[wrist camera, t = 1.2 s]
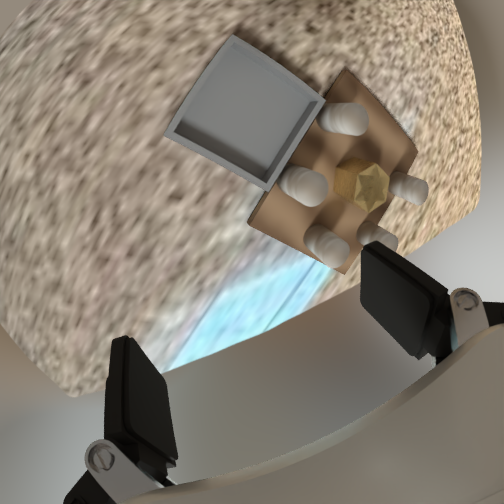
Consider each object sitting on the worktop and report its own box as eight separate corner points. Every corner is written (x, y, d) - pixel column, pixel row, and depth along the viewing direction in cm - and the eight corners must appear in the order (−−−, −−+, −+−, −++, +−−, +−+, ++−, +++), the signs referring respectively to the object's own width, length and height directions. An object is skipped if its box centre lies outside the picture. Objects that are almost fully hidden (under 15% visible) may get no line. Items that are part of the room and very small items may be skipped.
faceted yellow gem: (324, 184, 36) (345, 194, 32) (345, 150, 35) (368, 155, 30) (354, 207, 39) (375, 218, 35) (373, 175, 38) (395, 184, 34)
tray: (226, 41, 25) (232, 34, 22) (314, 101, 31) (326, 100, 29) (163, 134, 28) (163, 135, 26) (260, 186, 35) (268, 192, 32)
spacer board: (339, 68, 30) (372, 62, 24) (414, 151, 40) (445, 160, 34) (243, 220, 36) (261, 242, 30) (342, 272, 46) (366, 294, 40)
